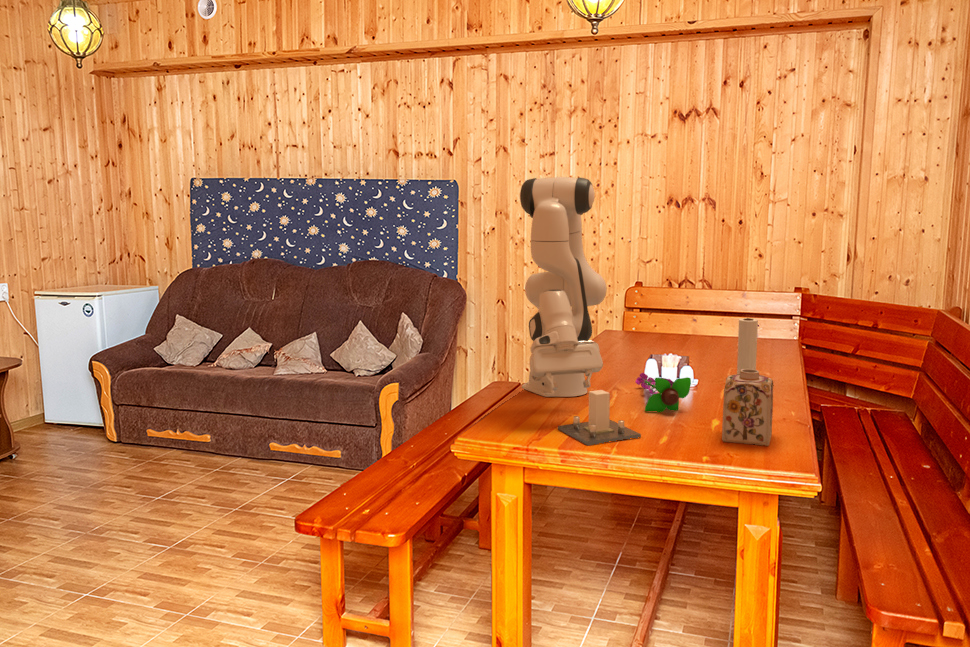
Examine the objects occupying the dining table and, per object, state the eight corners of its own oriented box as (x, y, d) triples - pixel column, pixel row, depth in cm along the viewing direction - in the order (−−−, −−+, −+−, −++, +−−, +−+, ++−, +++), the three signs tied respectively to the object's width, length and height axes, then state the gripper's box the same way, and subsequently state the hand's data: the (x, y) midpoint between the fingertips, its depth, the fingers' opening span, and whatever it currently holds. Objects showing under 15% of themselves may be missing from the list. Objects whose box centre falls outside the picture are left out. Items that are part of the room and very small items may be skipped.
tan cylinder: (749, 384, 269) (751, 321, 266) (733, 381, 274) (735, 319, 270) (760, 381, 274) (763, 318, 270) (744, 378, 278) (747, 316, 275)
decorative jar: (726, 429, 218) (728, 364, 216) (772, 434, 214) (775, 367, 211) (721, 442, 208) (723, 373, 205) (769, 447, 203) (772, 377, 200)
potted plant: (659, 430, 233) (628, 408, 268) (707, 400, 233) (671, 382, 268) (637, 394, 231) (610, 377, 266) (686, 364, 232) (652, 350, 267)
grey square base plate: (557, 429, 221) (557, 415, 220) (608, 422, 227) (608, 408, 226) (587, 445, 206) (587, 430, 205) (640, 437, 212) (641, 422, 212)
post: (588, 427, 217) (588, 391, 216) (601, 425, 219) (601, 389, 217) (596, 431, 214) (596, 394, 212) (609, 429, 215) (609, 393, 214)
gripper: (594, 344, 231) (603, 389, 226) (524, 348, 227) (532, 395, 221) (600, 335, 226) (610, 381, 220) (529, 339, 221) (537, 386, 216)
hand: (571, 388), depth 221 cm, fingers open, 8 cm apart
